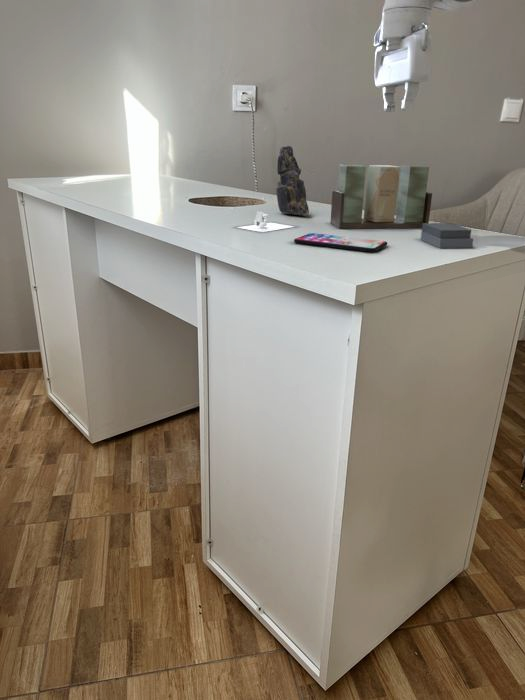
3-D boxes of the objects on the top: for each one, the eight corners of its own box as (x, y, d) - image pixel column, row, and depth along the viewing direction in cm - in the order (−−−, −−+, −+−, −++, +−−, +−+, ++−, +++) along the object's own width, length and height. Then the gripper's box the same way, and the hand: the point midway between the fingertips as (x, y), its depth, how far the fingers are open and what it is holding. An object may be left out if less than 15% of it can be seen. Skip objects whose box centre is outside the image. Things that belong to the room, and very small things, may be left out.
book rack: (414, 222, 122) (421, 165, 117) (428, 228, 115) (435, 167, 111) (330, 223, 119) (334, 164, 114) (339, 228, 112) (343, 166, 108)
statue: (295, 218, 124) (298, 147, 119) (270, 211, 134) (271, 145, 129) (316, 217, 127) (320, 147, 121) (290, 210, 137) (292, 145, 131)
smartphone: (374, 249, 90) (291, 239, 97) (374, 253, 90) (291, 243, 97) (389, 241, 96) (310, 232, 103) (388, 245, 96) (310, 236, 103)
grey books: (451, 239, 103) (453, 223, 102) (472, 247, 96) (474, 230, 95) (420, 239, 103) (422, 223, 101) (439, 248, 95) (441, 230, 94)
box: (374, 223, 114) (379, 166, 110) (362, 220, 117) (367, 164, 113) (395, 221, 116) (401, 165, 112) (382, 218, 119) (388, 164, 115)
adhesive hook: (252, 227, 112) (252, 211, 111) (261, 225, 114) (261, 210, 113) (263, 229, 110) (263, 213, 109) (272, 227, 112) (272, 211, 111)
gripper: (446, 20, 94) (436, 109, 99) (401, 38, 113) (394, 112, 118) (410, 19, 93) (402, 109, 98) (371, 37, 112) (366, 112, 117)
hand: (397, 111), depth 108 cm, fingers open, 8 cm apart
